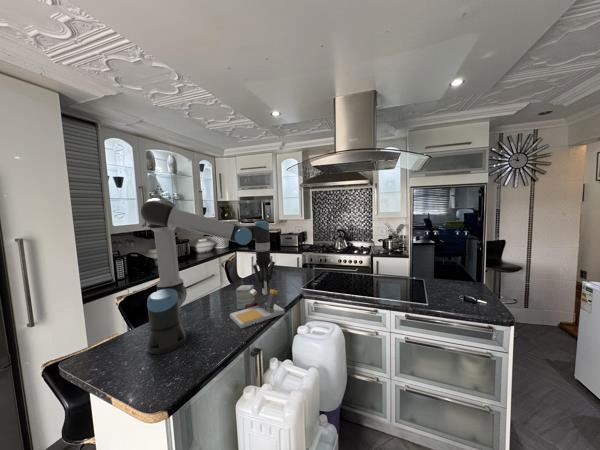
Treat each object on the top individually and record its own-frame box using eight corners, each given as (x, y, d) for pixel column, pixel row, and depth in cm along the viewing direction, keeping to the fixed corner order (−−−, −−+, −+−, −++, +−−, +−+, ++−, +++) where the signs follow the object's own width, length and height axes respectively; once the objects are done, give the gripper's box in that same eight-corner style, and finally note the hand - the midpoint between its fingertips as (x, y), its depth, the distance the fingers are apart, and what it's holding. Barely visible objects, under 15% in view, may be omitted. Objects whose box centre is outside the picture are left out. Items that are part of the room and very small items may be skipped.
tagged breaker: (268, 311, 131) (273, 290, 132) (264, 309, 134) (270, 289, 135) (272, 311, 132) (277, 291, 134) (269, 309, 135) (274, 289, 137)
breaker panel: (241, 328, 119) (240, 320, 119) (230, 317, 132) (229, 309, 132) (284, 313, 134) (284, 305, 133) (270, 304, 147) (270, 297, 146)
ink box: (255, 303, 151) (253, 284, 150) (251, 309, 142) (249, 289, 141) (241, 303, 151) (240, 284, 151) (236, 309, 143) (235, 289, 142)
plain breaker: (262, 307, 138) (252, 293, 135) (259, 305, 142) (249, 291, 138) (265, 304, 140) (255, 290, 136) (262, 302, 143) (252, 288, 139)
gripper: (254, 252, 123) (256, 298, 125) (277, 249, 131) (278, 292, 132) (248, 251, 129) (250, 294, 131) (270, 248, 137) (272, 289, 138)
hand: (264, 293), depth 131 cm, fingers closed
